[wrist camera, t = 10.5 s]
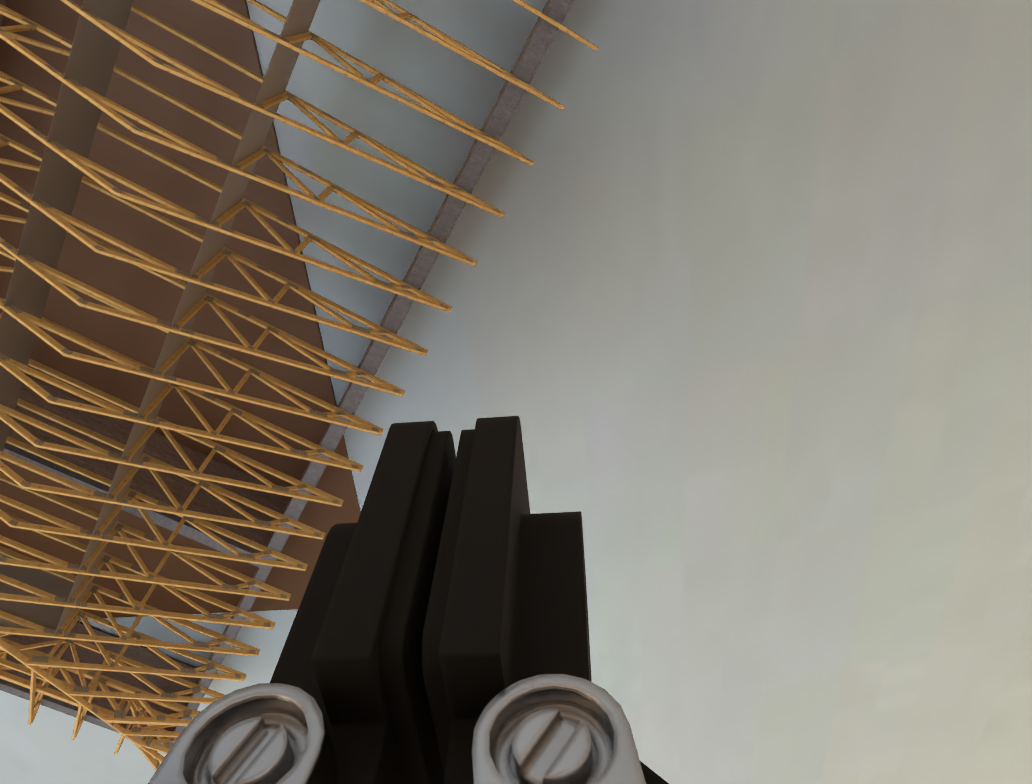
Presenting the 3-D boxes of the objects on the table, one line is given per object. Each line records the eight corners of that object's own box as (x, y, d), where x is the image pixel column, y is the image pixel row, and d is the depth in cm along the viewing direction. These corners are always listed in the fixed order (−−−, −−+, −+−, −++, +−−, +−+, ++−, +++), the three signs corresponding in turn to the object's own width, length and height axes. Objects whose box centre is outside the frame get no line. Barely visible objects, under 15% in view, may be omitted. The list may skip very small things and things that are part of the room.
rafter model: (222, 701, 31) (156, 852, 26) (-156, 557, 28) (-320, 693, 23) (768, -290, 17) (878, -420, 11) (98, -805, 14) (-193, -1318, 8)
